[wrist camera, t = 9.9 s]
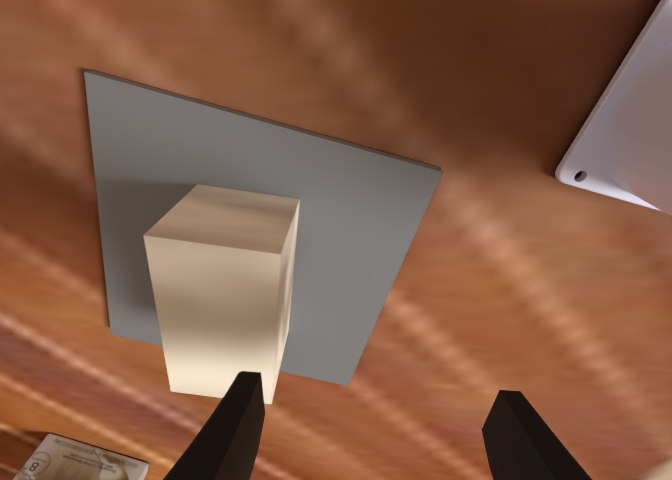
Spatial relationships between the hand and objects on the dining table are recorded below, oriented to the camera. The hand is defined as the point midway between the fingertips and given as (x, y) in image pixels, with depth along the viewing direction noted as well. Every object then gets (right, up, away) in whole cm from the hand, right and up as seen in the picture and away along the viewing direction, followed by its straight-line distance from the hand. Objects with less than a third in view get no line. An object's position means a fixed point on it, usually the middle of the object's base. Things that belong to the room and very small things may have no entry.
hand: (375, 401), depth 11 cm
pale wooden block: (-6, +3, +9) cm, 11 cm away
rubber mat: (-6, +4, +9) cm, 12 cm away
